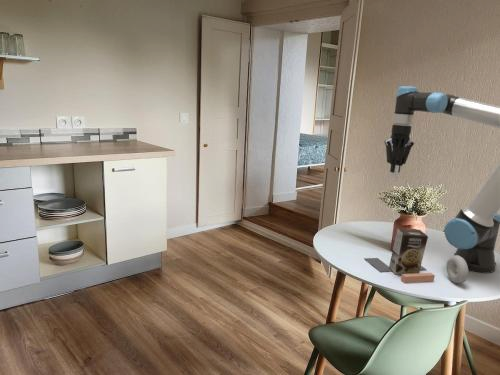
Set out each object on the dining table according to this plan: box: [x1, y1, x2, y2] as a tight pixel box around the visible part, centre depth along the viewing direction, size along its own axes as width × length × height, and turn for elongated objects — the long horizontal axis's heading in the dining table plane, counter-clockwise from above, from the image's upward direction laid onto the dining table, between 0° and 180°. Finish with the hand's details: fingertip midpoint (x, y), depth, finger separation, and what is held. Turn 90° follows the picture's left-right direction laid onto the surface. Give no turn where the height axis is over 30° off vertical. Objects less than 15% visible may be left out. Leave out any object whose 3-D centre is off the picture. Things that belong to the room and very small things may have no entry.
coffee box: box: [388, 228, 429, 276], centre depth 145 cm, size 9×6×16 cm
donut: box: [445, 254, 469, 284], centre depth 141 cm, size 10×3×10 cm, turn 4°
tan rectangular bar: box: [400, 272, 435, 284], centre depth 140 cm, size 12×2×2 cm, turn 103°
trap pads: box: [364, 257, 428, 273], centre depth 153 cm, size 20×12×1 cm, turn 103°
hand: (393, 179), depth 168 cm, fingers closed
